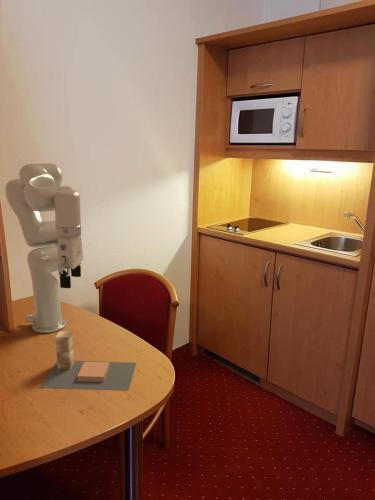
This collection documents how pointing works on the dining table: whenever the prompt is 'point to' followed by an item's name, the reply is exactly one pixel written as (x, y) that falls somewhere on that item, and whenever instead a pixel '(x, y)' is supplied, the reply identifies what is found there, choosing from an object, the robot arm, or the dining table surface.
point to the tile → (93, 371)
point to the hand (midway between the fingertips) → (71, 281)
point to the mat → (114, 380)
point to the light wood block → (64, 350)
